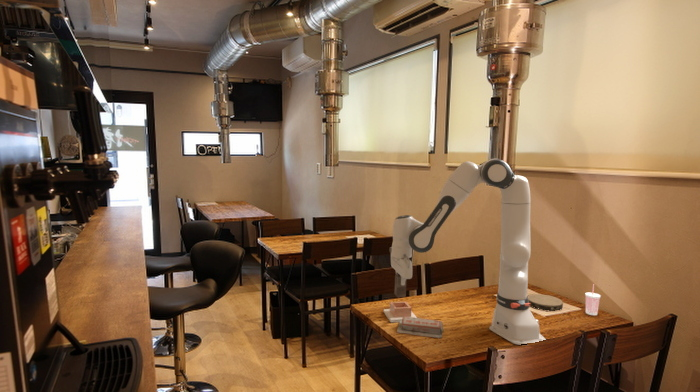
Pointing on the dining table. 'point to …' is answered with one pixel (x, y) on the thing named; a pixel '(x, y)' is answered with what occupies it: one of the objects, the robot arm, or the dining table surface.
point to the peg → (399, 287)
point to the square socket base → (398, 311)
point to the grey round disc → (545, 302)
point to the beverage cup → (592, 302)
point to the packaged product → (420, 327)
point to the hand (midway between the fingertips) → (400, 282)
